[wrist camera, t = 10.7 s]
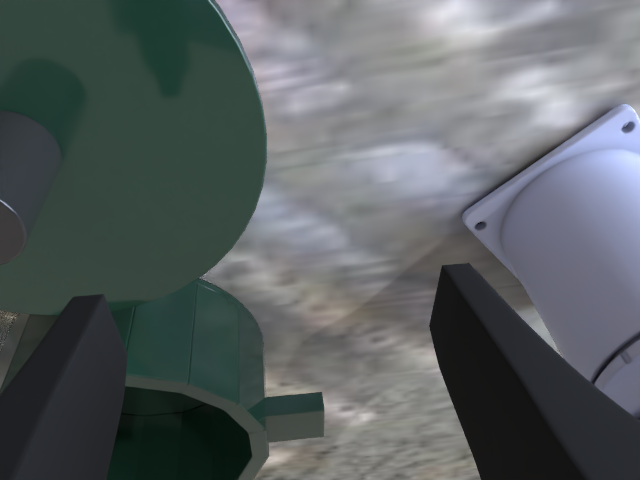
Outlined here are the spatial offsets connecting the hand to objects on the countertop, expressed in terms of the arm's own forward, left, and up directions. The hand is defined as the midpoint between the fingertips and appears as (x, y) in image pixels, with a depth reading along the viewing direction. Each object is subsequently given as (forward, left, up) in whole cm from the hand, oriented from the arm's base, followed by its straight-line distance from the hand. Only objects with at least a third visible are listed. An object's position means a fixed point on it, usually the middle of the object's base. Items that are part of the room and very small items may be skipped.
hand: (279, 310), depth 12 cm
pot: (-6, +15, -10) cm, 19 cm away
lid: (+5, +5, -7) cm, 10 cm away
